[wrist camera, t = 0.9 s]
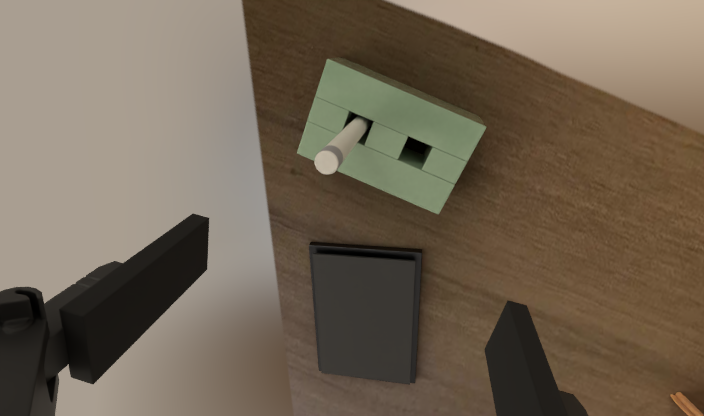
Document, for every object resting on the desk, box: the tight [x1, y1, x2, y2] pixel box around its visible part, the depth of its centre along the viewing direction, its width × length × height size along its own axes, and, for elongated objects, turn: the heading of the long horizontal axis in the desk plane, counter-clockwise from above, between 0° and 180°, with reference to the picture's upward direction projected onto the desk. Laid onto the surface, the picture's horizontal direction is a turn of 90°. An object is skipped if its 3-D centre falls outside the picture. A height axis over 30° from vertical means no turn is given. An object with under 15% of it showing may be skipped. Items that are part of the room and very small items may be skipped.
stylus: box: [315, 115, 373, 175], centre depth 28 cm, size 1×1×15 cm
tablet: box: [309, 242, 422, 383], centre depth 43 cm, size 18×12×1 cm, turn 2°
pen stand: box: [297, 57, 486, 214], centre depth 32 cm, size 8×13×5 cm, turn 69°
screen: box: [313, 253, 416, 384], centre depth 42 cm, size 17×11×1 cm, turn 2°
